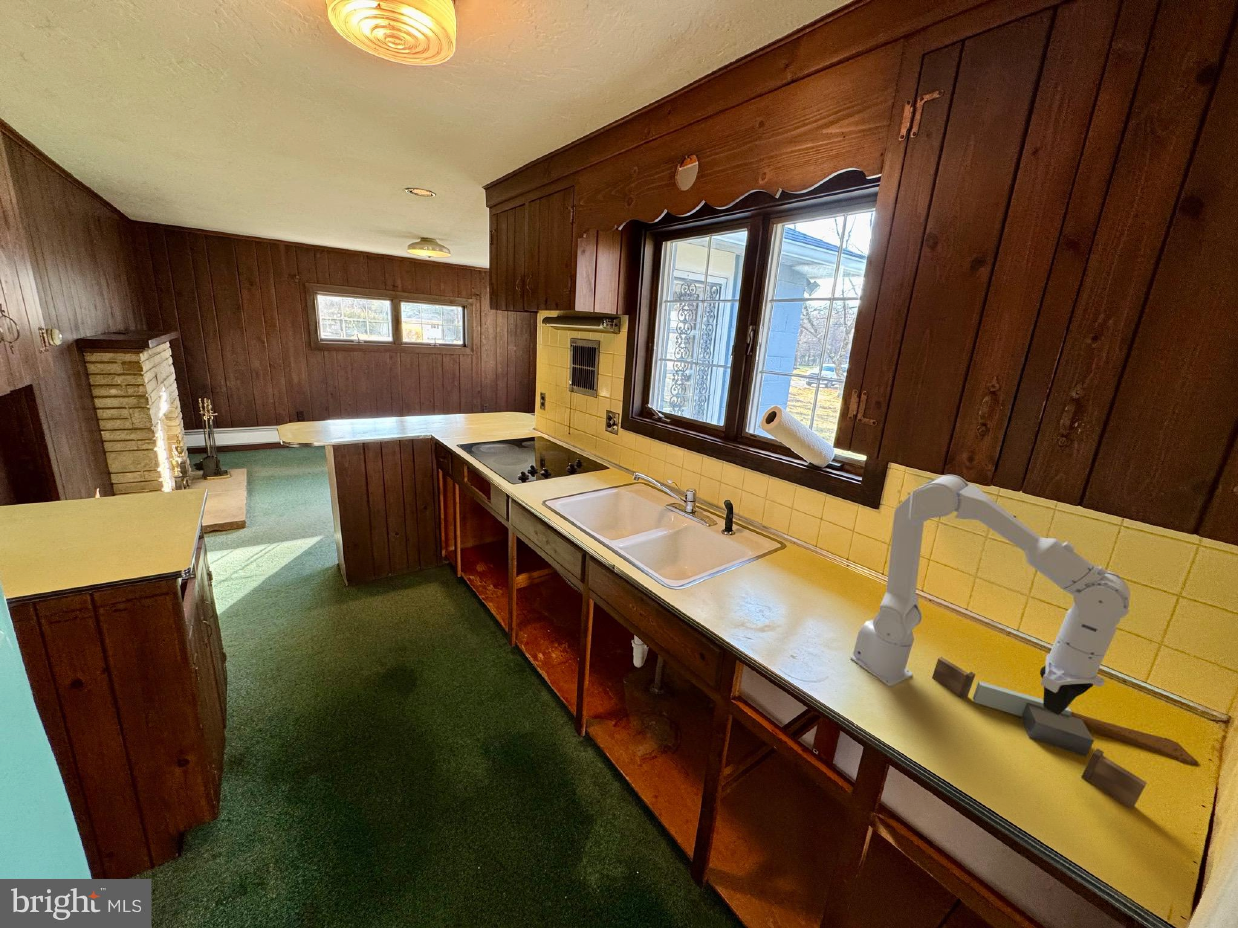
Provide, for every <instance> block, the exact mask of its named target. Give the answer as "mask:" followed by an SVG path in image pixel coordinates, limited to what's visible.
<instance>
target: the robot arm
mask: <svg viewBox="0 0 1238 928" xmlns="http://www.w3.org/2000/svg"><path fill="white" fill-rule="evenodd" d="M954 512H957V513H956V515H955V516H954V518H955V519H958V520H960V519H961V520H975V521H979V522H980V523H981V524H983V525H984V526H986V527H987V528H989V529H990V530H992V531H993V532H994V533H996V534H998V535H1000V536H1001V537H1002V538H1004V539H1005V540H1007V541H1008V542H1010V543H1011V544H1012V545H1014V546H1015V547H1017V548H1019V550H1022V552H1024V555H1025V562H1026V563H1027V564H1028V565H1030V566H1031V567H1032V568H1033V569H1034V570H1036V571H1037V572H1039V573H1040V574H1042V575H1043V576H1044V577H1045V578H1047V579H1048V580H1049V581H1051V582H1052V583H1053V584H1055V585H1056V586H1058V587H1059V588H1060V589H1061V590H1062V591H1064V592H1066V593H1068V594H1069V595H1072V598H1073V604H1072V606H1071V608H1070V609H1068V610H1067V611H1066V613H1065V616H1064V619H1063V621H1062V624H1061V626H1060V628H1059V631H1058V633H1057V635H1056V637H1055V640H1054V643H1053V645H1052V646H1051V650H1050V652H1049V653H1048V654H1047V655H1046V657H1045V665H1043V666H1042V667H1041V668H1040V671H1039V675H1040V678H1041V681H1040V683H1039V684H1040V686H1041V687H1043V706H1044V707H1045V708H1046V709H1048V710H1050V711H1051V712H1053V713H1055V714H1057V715H1059V714H1060V713H1062V712H1063V711H1064V710H1065V709H1066V708H1067V707H1070V705H1071V704H1072V702H1073V701H1074V700H1075V699H1076V698H1077V697H1079V696H1081V695H1083V694H1084V693H1086V692H1087V691H1089V690H1090V689H1091V688H1092V687H1093V686H1096V687H1100V688H1101V687H1103V686H1104V685H1105V683H1106V680H1105V679H1104V678H1103V677H1100V676H1099V675H1098V671H1099V669H1100V667H1101V665H1102V663H1103V661H1104V659H1105V657H1106V654H1107V652H1108V649H1109V647H1110V646H1111V643H1112V641H1113V638H1114V636H1115V635H1116V632H1117V630H1118V629H1117V626H1118V625H1119V624H1120V622H1121V619H1123V618H1124V617H1126V616H1127V615H1128V614H1129V612H1130V610H1129V608H1130V607H1129V606H1130V600H1131V599H1130V598H1131V591H1130V590H1131V589H1130V587H1129V585H1128V584H1127V583H1126V581H1125V580H1123V579H1122V577H1120V575H1119V574H1116V573H1115V572H1112V571H1109V570H1107V569H1106V568H1104V567H1103V566H1101V565H1100V566H1098V567H1097V566H1096V564H1095V565H1094V564H1093V563H1092V562H1090V561H1089V560H1087V559H1086V558H1084V557H1083V556H1082V555H1080V553H1078V552H1076V551H1075V549H1076V547H1075V545H1073V543H1071V542H1069V541H1065V542H1064V543H1063V542H1061V540H1058V538H1053V537H1052V538H1051V537H1047V538H1046V537H1042V536H1040V535H1039V534H1038V533H1036V532H1035V531H1033V530H1032V529H1031V528H1029V527H1028V526H1027V525H1025V524H1024V523H1023V522H1022V521H1020V520H1019V519H1018V518H1016V517H1015V516H1014V515H1012V514H1011V513H1010V512H1009V511H1008V510H1006V509H1005V508H1003V507H1002V506H1001V505H1000V504H999V503H997V501H995V500H993V499H992V497H989V496H988V495H987V494H986V493H984V491H982V490H981V489H980V488H978V486H975V485H973V484H972V483H968V482H967V481H966V480H965V479H964V478H962V477H961V476H958V475H955V474H943V475H940V476H938V477H937V478H933V479H931V480H929V481H927V482H926V483H925V484H923V485H922V486H920V487H917V488H915V489H914V490H912V491H911V492H910V494H909V495H908V496H907V497H905V499H904V500H903V501H902V502H901V503H900V504H899V505H898V506H897V507H896V508H895V509H894V513H893V521H892V522H893V523H892V532H891V541H890V542H891V543H890V554H889V563H888V573H887V581H886V583H887V584H886V591H885V594H884V596H883V599H882V600H881V603H880V604H879V611H878V612H877V614H876V615H875V617H874V618H873V619H869V620H867V621H865V622H864V623H863V625H861V627H860V629H859V630H858V634H857V637H856V641H855V644H854V649H853V652H852V654H851V655H850V659H851V660H853V661H854V662H855V663H857V664H858V665H860V666H861V667H862V668H864V669H865V670H866V671H868V672H869V673H870V674H872V676H873V675H874V677H875V678H877V679H878V680H880V681H882V683H884V684H885V685H887V686H889V687H893V686H895V685H897V684H899V683H900V682H903V681H905V680H907V679H908V678H911V677H913V672H911V671H910V670H908V669H907V668H906V667H907V664H908V661H909V657H910V654H911V651H912V647H913V643H914V641H915V637H914V633H913V630H914V629H915V628H916V627H917V626H918V625H920V624H921V622H922V619H923V614H922V611H921V608H920V607H919V596H918V595H917V593H916V592H917V586H918V575H919V569H920V568H919V567H920V560H921V559H920V557H921V549H922V542H923V541H922V540H923V532H924V523H925V522H926V521H928V520H931V519H935V518H936V519H937V518H943V517H947V516H949V515H951V514H952V513H954Z"/></svg>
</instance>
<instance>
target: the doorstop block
mask: <svg viewBox="0 0 1238 928" xmlns="http://www.w3.org/2000/svg"><path fill="white" fill-rule="evenodd" d="M1020 720H1021V722H1022V724H1023V727H1024V730H1025V732H1026V734H1027V737H1028V739H1030V740H1034V741H1037V742H1039V743H1043V744H1045V745H1049V746H1052V747H1055V748H1057V749H1060V750H1064V751H1066V752H1069V753H1072V754H1075V755H1078V756H1082V757H1084V758H1087V756H1088V754H1089V753H1090V751H1091V749H1092V746H1093V744H1094V742H1095V740H1094V738H1093V736H1092V734H1091V733H1090V731H1088V729H1087V728H1086V726H1085V724H1084V722H1083V721H1082V720H1081V719H1078V718H1075V717H1071V716H1068V715H1065V714H1062V713H1060V714H1059V715H1057V714H1055V713H1053V712H1051V711H1050V710H1048V709H1046V708H1043V707H1040V706H1036V705H1033V704H1030V703H1027V704H1026V706H1025V709H1024V711H1023V714H1022V716H1020Z"/></svg>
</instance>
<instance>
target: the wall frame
mask: <svg viewBox="0 0 1238 928" xmlns="http://www.w3.org/2000/svg"><path fill="white" fill-rule="evenodd" d="M975 678H976V673H975V672H973V671H970V672H967V671H966V670H964V669H963V668H960V667H959V666H958V665H956V664H954V663H953V662H951V661H950V660H948V659H946V658H944V657H943V656H939V657H938V658H937V661H936V664H935V667H934V670H933V673H932V676H931V679H933V680H934V681H936V682H938V683H939V684H940V685H942V686H944V687H945V688H947V689H948V690H950V691H952V692H953V693H954V694H956V695H958V697H959V698H961V699H962V700H964V699H965V698H967V697H969V693H970V691H971V689H972V686H973V682H974V679H975ZM1104 753H1105V752H1104V751H1103V750H1101V749H1100V748H1097V747H1096V749H1095V750H1093V752H1092V754H1091V756H1090V758H1089V759H1088V762H1087V764H1086V766H1085V768H1084V770H1083V772H1082V775H1081V776H1080V777H1081V779H1083V780H1084V781H1086V782H1089V783H1091V784H1092V785H1094V786H1096V787H1097V788H1099V789H1100V790H1101V791H1102V792H1105V794H1108V795H1109V796H1110V797H1112V798H1114V799H1115V800H1117V801H1118V802H1120V803H1121V804H1123V805H1124V806H1126V807H1128V808H1129V809H1130V810H1133V808H1134V807H1135V806H1136V804H1137V803H1138V800H1139V798H1140V797H1141V795H1142V793H1143V792H1144V789H1145V788H1146V786H1147V783H1148V782H1147V781H1145V780H1144V779H1142V778H1140V777H1138V775H1135V774H1134V773H1132V772H1130V770H1127V769H1125V768H1124V767H1122V766H1121V765H1119V764H1118V763H1116V762H1114V761H1112V760H1111V759H1110V758H1108V757H1107V756H1106V757H1105V756H1104Z"/></svg>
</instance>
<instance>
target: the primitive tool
mask: <svg viewBox="0 0 1238 928" xmlns="http://www.w3.org/2000/svg"><path fill="white" fill-rule="evenodd" d="M1070 716H1071V717H1075V718H1078V719H1081V720H1082V721H1083V722H1084V724H1085V726H1086V728H1087V729H1088V731H1089V732H1091V733H1095V734H1098V735H1101V736H1104V737H1108V738H1110V739H1113V740H1117V741H1120V742H1123V743H1125V744H1128V745H1132V746H1135V747H1137V748H1141V749H1143V750H1146V751H1148V752H1153V753H1156V754H1159V755H1162V756H1164V757H1167V758H1170V759H1174V760H1176V761H1179V762H1180V763H1185V764H1187V765H1188V766H1195V767H1199V766H1200V763H1199V761H1198V760H1197V759H1196V758H1194V756H1193V755H1191V754H1190V753H1189V752H1188V751H1187V750H1186V749H1185V748H1184V747H1183V746H1182V745H1181V744H1180V743H1179V742H1177V741H1175V740H1173V739H1171V738H1167V737H1162V736H1158V735H1154V734H1150V733H1147V732H1144V731H1139V730H1135V729H1133V728H1129V727H1124V726H1121V725H1118V724H1115V723H1111V722H1106V721H1104V720H1103V721H1102V720H1100V719H1097V718H1093V717H1090V716H1086V715H1083V714H1080V713H1078V712H1074V711H1072V713H1071V715H1070Z"/></svg>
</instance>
